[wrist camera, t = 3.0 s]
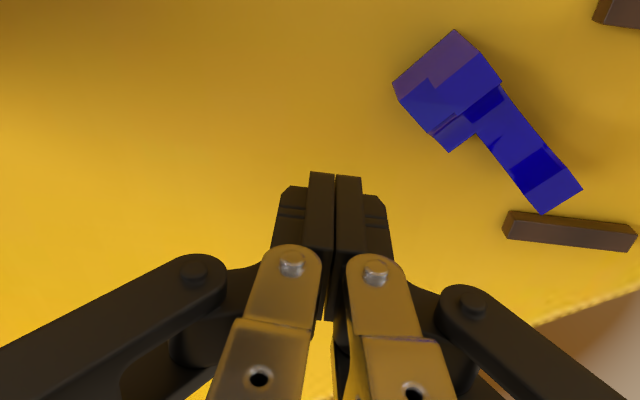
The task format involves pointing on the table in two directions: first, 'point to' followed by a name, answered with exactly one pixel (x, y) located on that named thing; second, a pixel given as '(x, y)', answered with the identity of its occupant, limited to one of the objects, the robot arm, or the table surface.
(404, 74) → the cable holder
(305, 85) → the table surface
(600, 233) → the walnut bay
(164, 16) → the table surface
